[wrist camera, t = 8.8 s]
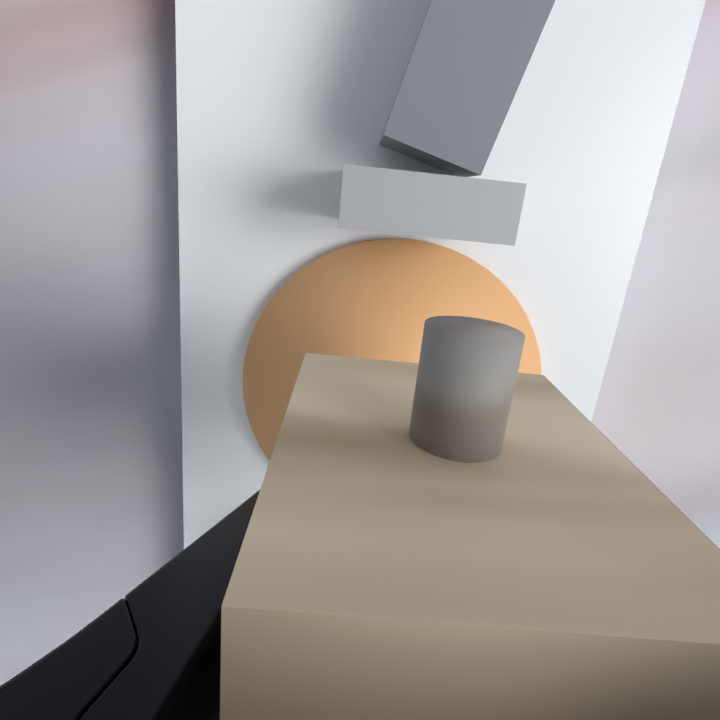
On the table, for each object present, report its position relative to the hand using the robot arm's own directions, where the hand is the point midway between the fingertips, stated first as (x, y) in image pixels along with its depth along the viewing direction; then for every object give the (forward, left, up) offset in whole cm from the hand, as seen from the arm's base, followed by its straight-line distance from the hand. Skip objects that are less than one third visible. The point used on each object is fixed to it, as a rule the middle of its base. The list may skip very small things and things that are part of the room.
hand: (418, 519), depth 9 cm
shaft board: (0, 0, -7) cm, 7 cm away
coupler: (0, 0, -2) cm, 2 cm away
